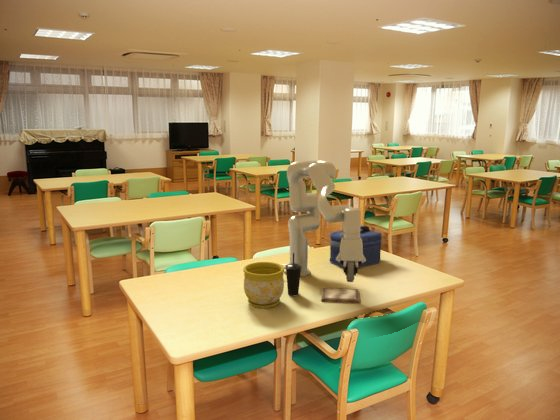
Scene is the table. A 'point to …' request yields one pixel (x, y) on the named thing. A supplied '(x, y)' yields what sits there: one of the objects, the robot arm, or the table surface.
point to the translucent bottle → (350, 271)
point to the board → (340, 295)
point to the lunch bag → (369, 242)
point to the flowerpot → (263, 283)
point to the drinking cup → (293, 277)
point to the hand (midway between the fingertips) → (350, 274)
